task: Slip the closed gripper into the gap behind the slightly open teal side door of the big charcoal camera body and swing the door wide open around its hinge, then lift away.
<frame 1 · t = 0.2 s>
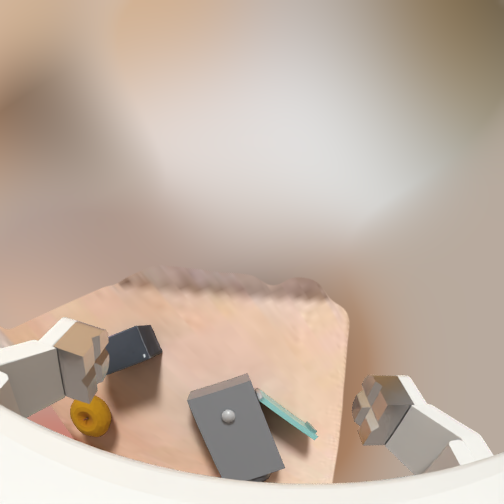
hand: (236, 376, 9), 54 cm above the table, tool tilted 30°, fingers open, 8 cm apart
small box: (134, 346, 59), on the table
side door: (286, 413, 55), point 4 cm above the table, hinge at 30.0°
apple: (99, 409, 55), on the table
camera body: (235, 425, 57), on the table
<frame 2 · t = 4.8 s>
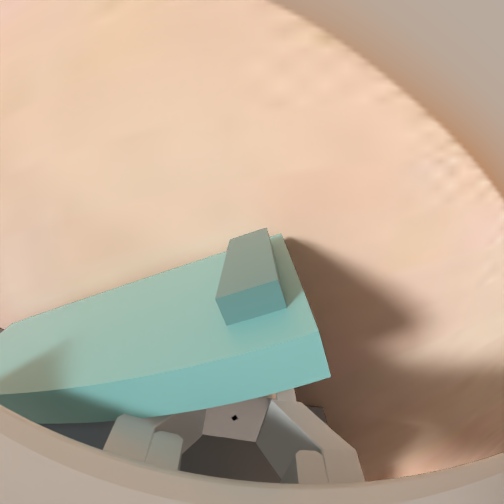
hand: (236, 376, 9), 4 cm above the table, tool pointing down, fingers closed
side door: (70, 336, 9), point 4 cm above the table, hinge at 30.2°, touching gripper
camera body: (124, 444, 15), on the table
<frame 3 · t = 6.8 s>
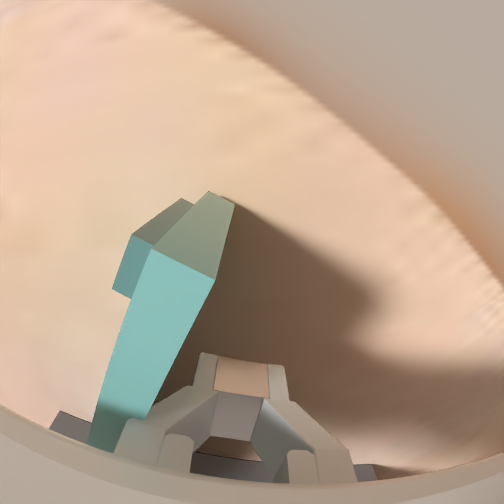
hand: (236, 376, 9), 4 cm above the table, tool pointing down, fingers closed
side door: (118, 401, 9), point 4 cm above the table, hinge at 75.8°, touching gripper
camera body: (206, 496, 17), on the table
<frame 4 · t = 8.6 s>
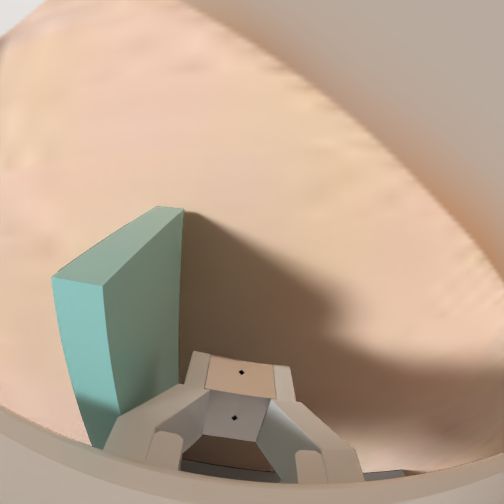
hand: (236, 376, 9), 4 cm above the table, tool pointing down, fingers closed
side door: (142, 425, 10), point 4 cm above the table, hinge at 97.0°, touching gripper
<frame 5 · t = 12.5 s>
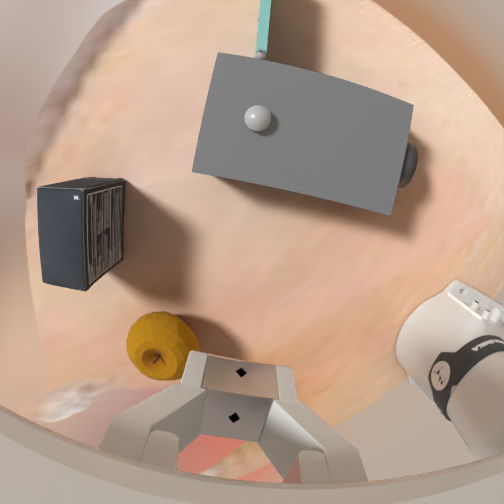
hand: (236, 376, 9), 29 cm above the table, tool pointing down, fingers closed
small box: (102, 218, 37), on the table
side door: (262, 11, 27), point 4 cm above the table, hinge at 96.8°
apple: (172, 326, 41), on the table
camera body: (299, 136, 34), on the table
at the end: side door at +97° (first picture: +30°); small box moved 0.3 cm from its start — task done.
